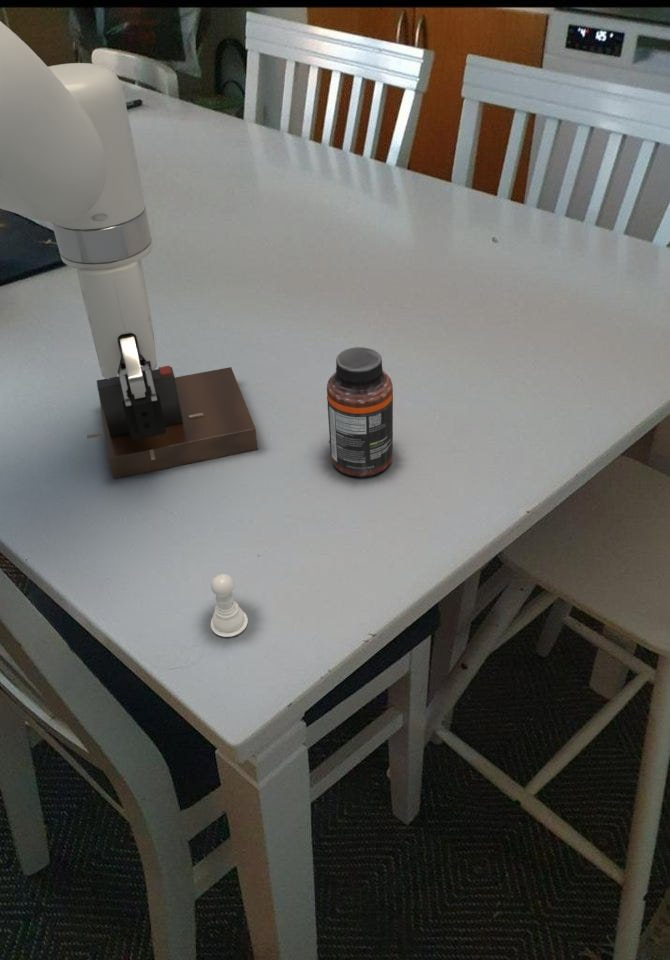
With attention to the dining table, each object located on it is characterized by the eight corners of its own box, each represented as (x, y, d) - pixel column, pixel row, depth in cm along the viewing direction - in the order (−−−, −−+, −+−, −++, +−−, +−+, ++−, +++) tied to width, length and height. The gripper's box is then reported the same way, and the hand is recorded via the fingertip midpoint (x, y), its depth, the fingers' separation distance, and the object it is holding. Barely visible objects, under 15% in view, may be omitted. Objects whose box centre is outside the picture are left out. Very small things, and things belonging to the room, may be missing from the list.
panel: (97, 493, 75) (91, 471, 73) (88, 414, 85) (82, 392, 83) (261, 458, 78) (259, 436, 76) (233, 386, 88) (231, 365, 86)
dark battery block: (110, 437, 77) (97, 386, 74) (108, 428, 78) (95, 377, 75) (183, 423, 79) (173, 372, 75) (180, 414, 80) (171, 364, 76)
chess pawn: (212, 641, 61) (203, 596, 58) (209, 613, 63) (200, 568, 60) (249, 634, 61) (242, 589, 58) (245, 607, 63) (238, 562, 60)
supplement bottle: (352, 434, 81) (350, 333, 73) (404, 453, 78) (406, 351, 71) (318, 466, 77) (311, 363, 70) (371, 487, 74) (370, 383, 67)
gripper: (53, 203, 72) (96, 368, 83) (60, 286, 59) (111, 468, 70) (137, 191, 73) (169, 355, 84) (163, 269, 61) (196, 450, 72)
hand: (142, 406), depth 77 cm, fingers open, 9 cm apart
